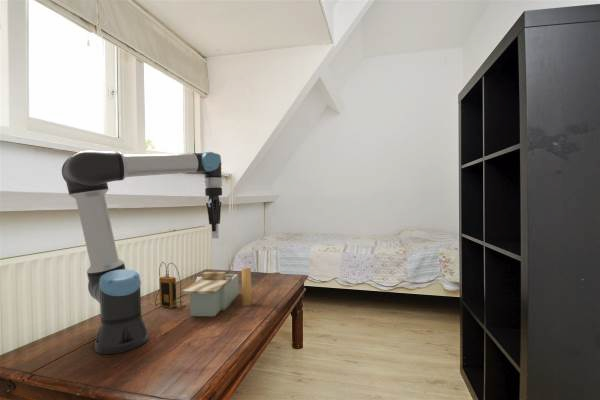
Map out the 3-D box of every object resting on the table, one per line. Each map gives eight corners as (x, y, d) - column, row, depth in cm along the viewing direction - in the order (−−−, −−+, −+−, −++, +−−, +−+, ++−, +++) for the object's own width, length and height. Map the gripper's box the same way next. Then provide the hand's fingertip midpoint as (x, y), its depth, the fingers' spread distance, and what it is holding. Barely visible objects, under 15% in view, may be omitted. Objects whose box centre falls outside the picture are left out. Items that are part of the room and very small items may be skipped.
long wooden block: (250, 306, 132) (249, 269, 132) (241, 306, 133) (240, 269, 133) (252, 303, 136) (251, 267, 136) (244, 303, 137) (242, 267, 137)
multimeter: (194, 302, 140) (193, 259, 140) (177, 309, 131) (176, 263, 131) (171, 298, 146) (170, 257, 146) (153, 305, 137) (152, 261, 137)
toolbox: (185, 316, 123) (185, 291, 123) (210, 294, 150) (210, 274, 150) (219, 316, 122) (218, 291, 122) (238, 294, 149) (238, 274, 149)
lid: (181, 293, 120) (181, 283, 120) (202, 279, 140) (201, 271, 140) (215, 293, 119) (215, 283, 119) (231, 279, 139) (231, 270, 139)
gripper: (211, 187, 147) (212, 236, 147) (199, 187, 134) (201, 240, 134) (226, 187, 146) (227, 236, 147) (216, 186, 133) (217, 240, 134)
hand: (215, 238), depth 141 cm, fingers closed
